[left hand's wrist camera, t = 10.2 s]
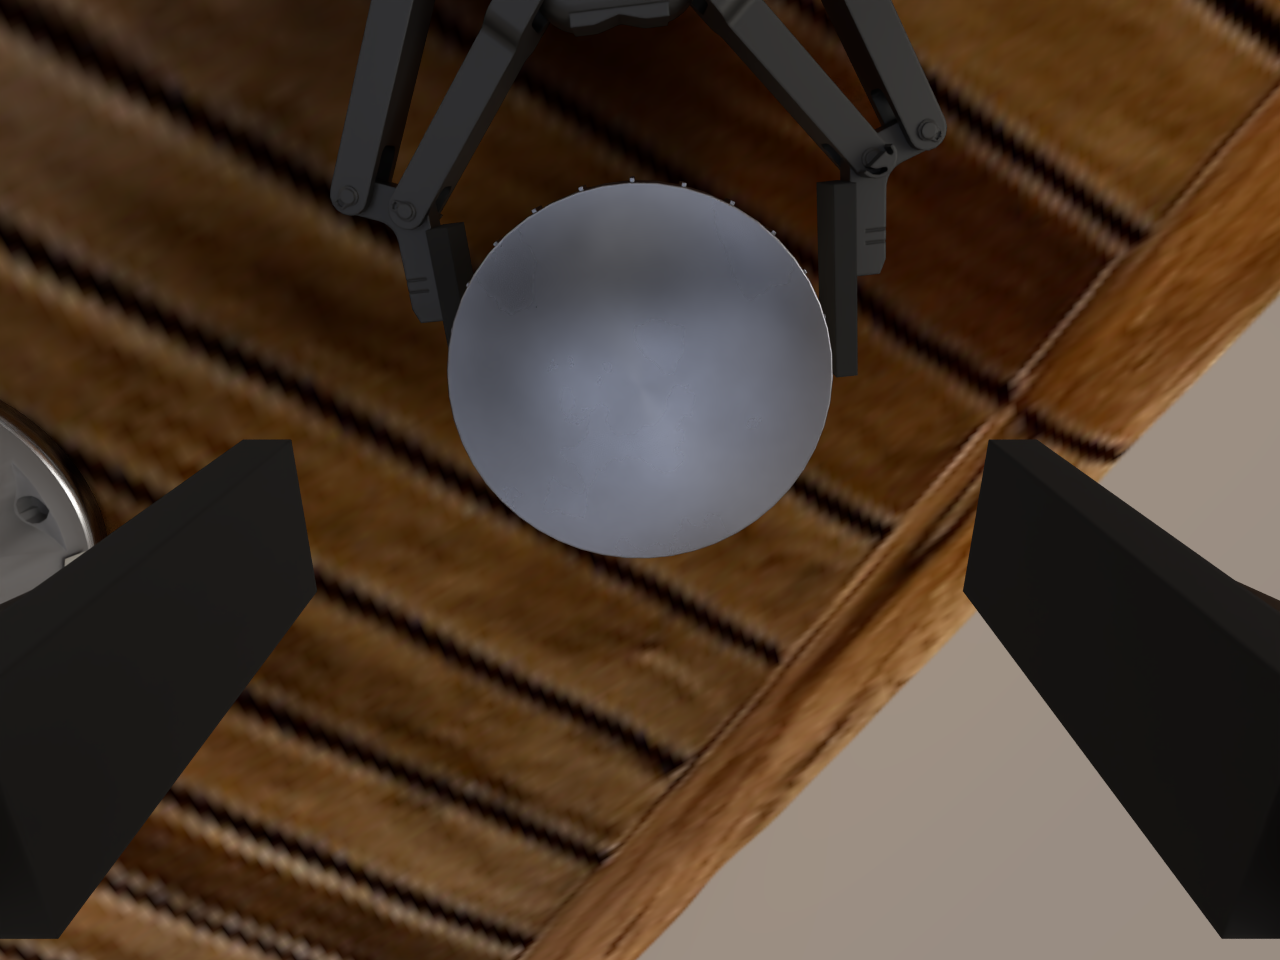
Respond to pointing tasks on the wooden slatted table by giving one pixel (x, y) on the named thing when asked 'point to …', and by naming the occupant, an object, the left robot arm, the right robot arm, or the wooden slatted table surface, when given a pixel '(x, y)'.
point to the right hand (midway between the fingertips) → (657, 387)
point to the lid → (640, 369)
